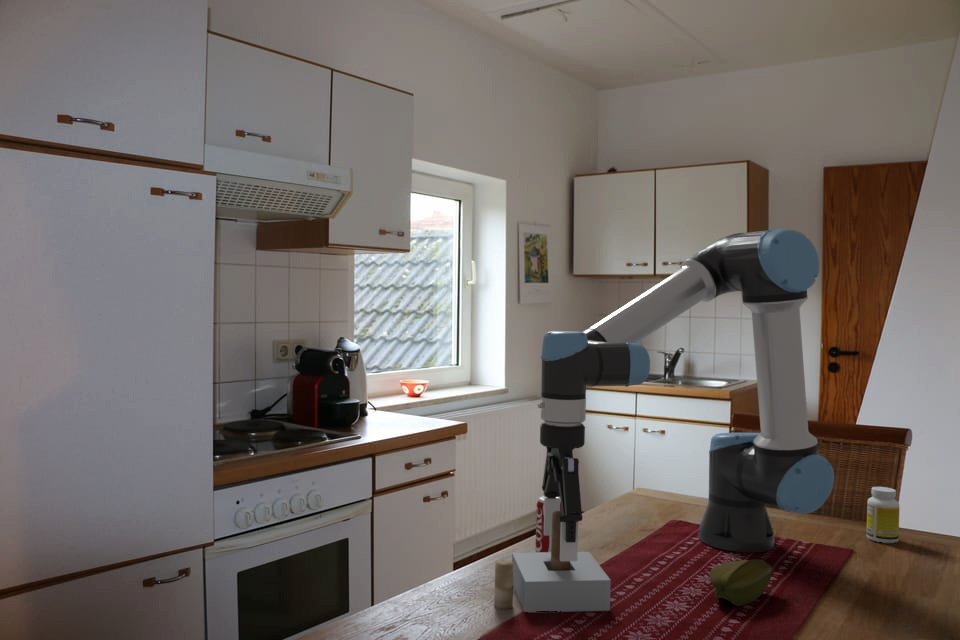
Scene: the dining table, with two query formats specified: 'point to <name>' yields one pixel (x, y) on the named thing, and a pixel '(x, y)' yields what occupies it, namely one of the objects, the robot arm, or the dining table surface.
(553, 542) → the long pin
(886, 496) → the pill bottle
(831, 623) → the dining table surface
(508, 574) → the short pin
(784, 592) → the dining table surface
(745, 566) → the fruit
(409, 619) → the dining table surface
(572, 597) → the hole block
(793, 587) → the dining table surface
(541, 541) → the soda can
